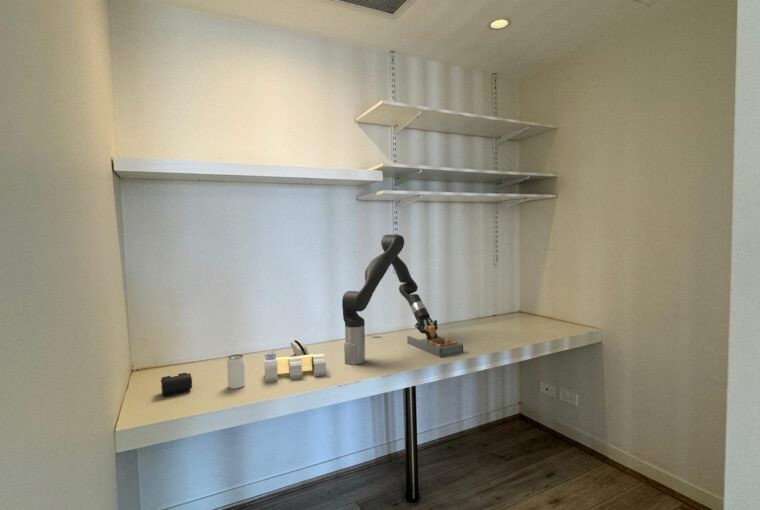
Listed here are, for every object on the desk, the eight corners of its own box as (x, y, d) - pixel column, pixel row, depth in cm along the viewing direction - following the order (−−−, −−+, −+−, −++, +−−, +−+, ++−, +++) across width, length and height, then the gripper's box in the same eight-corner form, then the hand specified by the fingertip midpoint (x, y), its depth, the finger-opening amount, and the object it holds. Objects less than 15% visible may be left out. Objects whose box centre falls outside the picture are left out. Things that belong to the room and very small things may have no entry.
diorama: (264, 383, 160) (263, 351, 159) (265, 374, 169) (264, 345, 169) (326, 376, 166) (325, 345, 166) (323, 368, 176) (322, 340, 176)
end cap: (163, 399, 145) (162, 381, 145) (160, 393, 151) (159, 376, 150) (192, 392, 151) (191, 375, 151) (188, 387, 157) (188, 370, 156)
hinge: (314, 361, 186) (307, 342, 184) (305, 365, 184) (297, 347, 182) (303, 352, 201) (296, 335, 199) (295, 356, 199) (288, 339, 197)
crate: (457, 350, 195) (457, 330, 195) (440, 353, 190) (440, 333, 190) (437, 342, 210) (437, 324, 210) (421, 345, 205) (421, 326, 205)
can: (224, 387, 155) (223, 357, 155) (238, 382, 161) (237, 353, 160) (234, 390, 152) (233, 359, 151) (248, 385, 157) (247, 355, 157)
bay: (463, 352, 194) (463, 344, 194) (440, 357, 188) (440, 348, 187) (428, 339, 221) (428, 331, 220) (407, 343, 214) (407, 335, 214)
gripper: (411, 308, 209) (425, 336, 199) (433, 306, 215) (447, 332, 205) (406, 317, 214) (419, 344, 203) (427, 314, 220) (441, 340, 210)
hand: (433, 338), depth 204 cm, fingers closed on crate, 3 cm apart
